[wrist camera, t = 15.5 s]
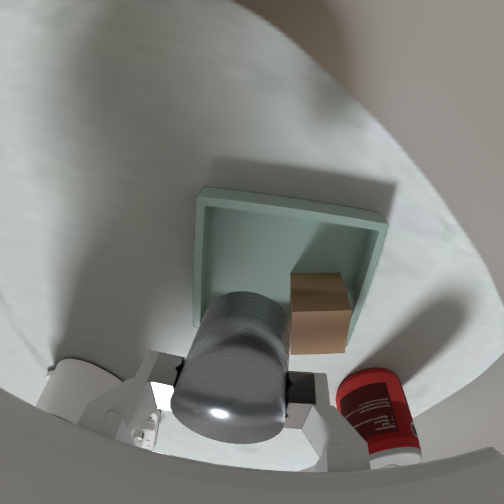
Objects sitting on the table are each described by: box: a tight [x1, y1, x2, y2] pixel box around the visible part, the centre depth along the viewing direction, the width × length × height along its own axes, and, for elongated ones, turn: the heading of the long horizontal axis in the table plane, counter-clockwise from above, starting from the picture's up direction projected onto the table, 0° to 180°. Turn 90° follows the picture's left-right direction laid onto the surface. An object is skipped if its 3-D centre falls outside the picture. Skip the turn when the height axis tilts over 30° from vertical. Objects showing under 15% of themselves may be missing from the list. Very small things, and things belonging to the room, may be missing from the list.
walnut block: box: [289, 273, 352, 355], centre depth 23 cm, size 4×4×5 cm
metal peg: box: [170, 291, 291, 444], centre depth 12 cm, size 4×4×5 cm
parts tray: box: [193, 187, 389, 346], centre depth 23 cm, size 11×13×2 cm
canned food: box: [336, 368, 422, 469], centre depth 26 cm, size 8×8×11 cm
